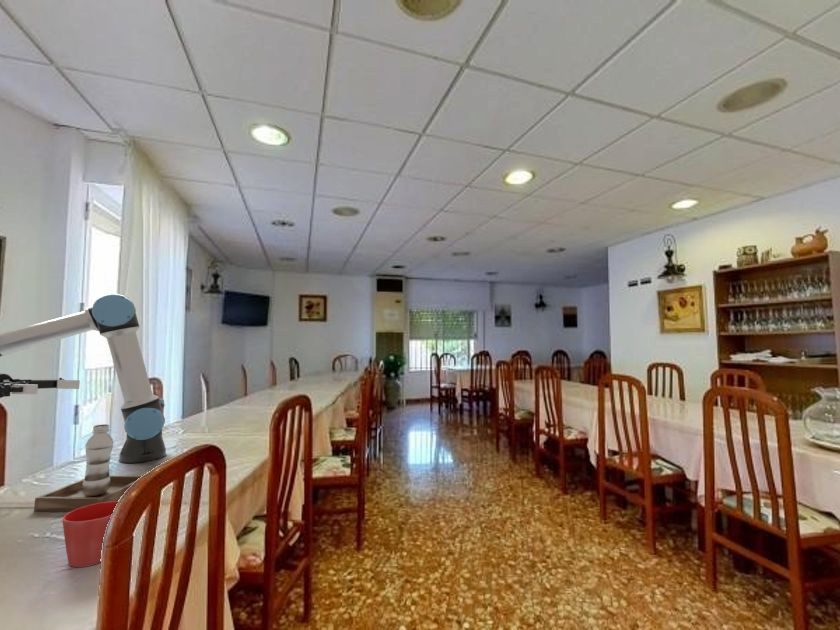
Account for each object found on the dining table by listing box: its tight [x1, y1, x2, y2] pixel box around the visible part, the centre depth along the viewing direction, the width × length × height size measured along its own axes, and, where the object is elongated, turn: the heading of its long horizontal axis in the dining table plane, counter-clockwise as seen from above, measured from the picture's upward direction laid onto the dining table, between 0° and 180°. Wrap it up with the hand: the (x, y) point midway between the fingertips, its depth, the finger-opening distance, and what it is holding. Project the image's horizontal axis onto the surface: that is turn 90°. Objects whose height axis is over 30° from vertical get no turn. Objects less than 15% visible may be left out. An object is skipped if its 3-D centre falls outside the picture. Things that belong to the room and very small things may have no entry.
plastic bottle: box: [82, 423, 114, 496], centre depth 112 cm, size 6×7×20 cm
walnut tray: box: [33, 475, 142, 513], centre depth 111 cm, size 18×18×4 cm
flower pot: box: [61, 501, 118, 568], centre depth 81 cm, size 11×11×10 cm
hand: (58, 386), depth 116 cm, fingers open, 13 cm apart
